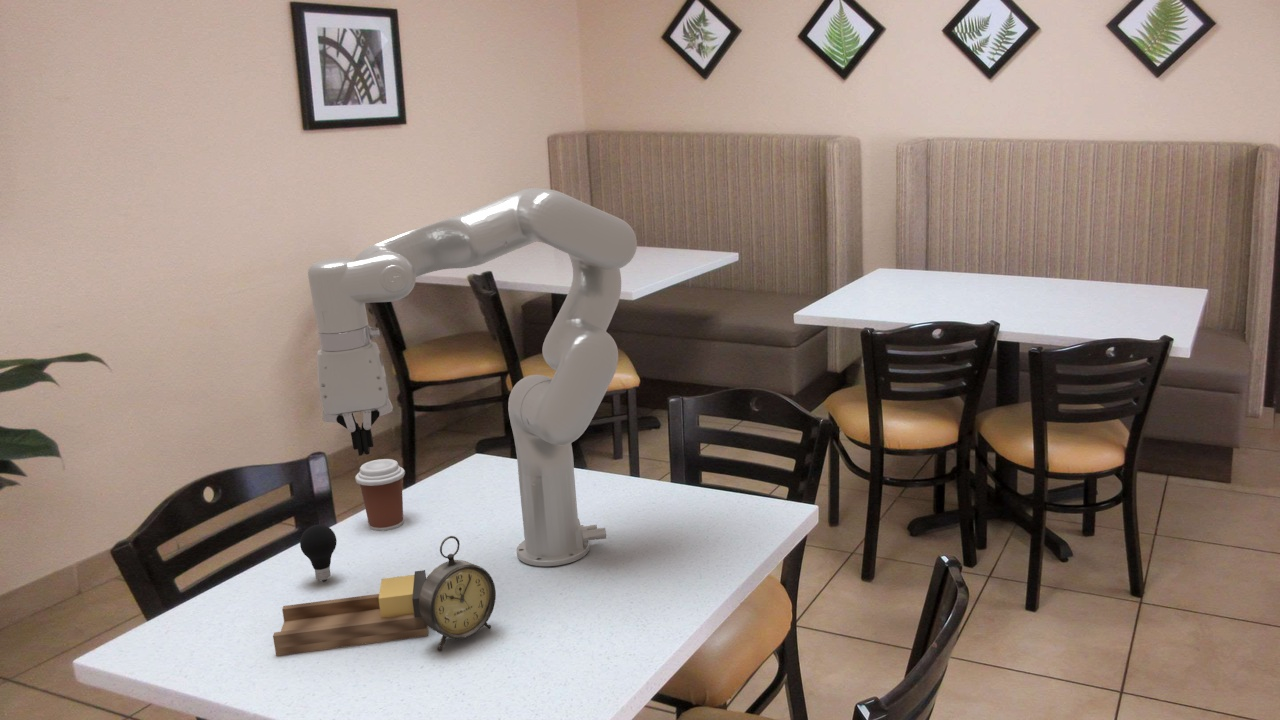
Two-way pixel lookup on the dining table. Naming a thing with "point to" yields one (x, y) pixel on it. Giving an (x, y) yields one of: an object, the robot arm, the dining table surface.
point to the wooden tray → (346, 623)
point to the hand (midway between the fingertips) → (364, 452)
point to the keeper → (396, 596)
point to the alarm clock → (457, 598)
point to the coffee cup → (382, 493)
